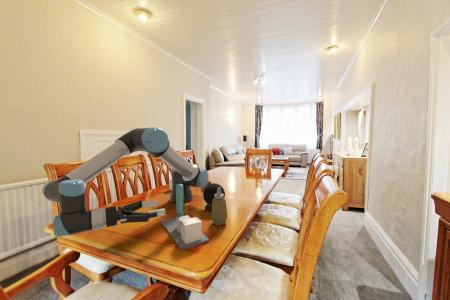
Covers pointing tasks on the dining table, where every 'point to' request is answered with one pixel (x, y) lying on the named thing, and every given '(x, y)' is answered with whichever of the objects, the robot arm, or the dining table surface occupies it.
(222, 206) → the squeeze bottle
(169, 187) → the container
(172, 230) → the socket
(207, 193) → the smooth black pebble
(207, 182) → the bell
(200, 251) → the dining table surface
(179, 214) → the tube
